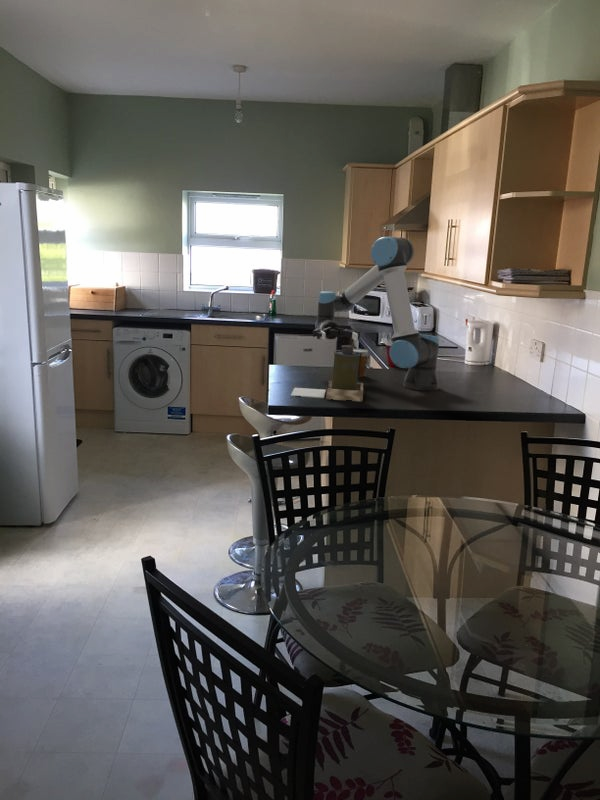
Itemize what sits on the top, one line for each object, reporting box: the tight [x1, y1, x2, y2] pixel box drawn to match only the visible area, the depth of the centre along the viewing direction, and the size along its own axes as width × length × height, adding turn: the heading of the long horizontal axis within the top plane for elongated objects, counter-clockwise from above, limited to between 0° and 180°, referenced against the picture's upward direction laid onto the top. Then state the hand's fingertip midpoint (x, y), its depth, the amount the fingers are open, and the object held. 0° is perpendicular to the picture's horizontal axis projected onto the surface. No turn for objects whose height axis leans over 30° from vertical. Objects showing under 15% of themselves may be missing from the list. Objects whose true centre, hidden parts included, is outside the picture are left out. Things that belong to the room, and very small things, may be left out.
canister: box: [331, 344, 362, 390], centre depth 258 cm, size 11×10×20 cm
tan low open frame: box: [325, 380, 364, 402], centre depth 260 cm, size 14×16×4 cm
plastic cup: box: [384, 340, 399, 368], centre depth 333 cm, size 11×11×12 cm
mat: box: [290, 387, 327, 399], centre depth 262 cm, size 13×14×1 cm
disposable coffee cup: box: [353, 348, 369, 378], centre depth 302 cm, size 10×10×12 cm
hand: (340, 337), depth 265 cm, fingers open, 13 cm apart
